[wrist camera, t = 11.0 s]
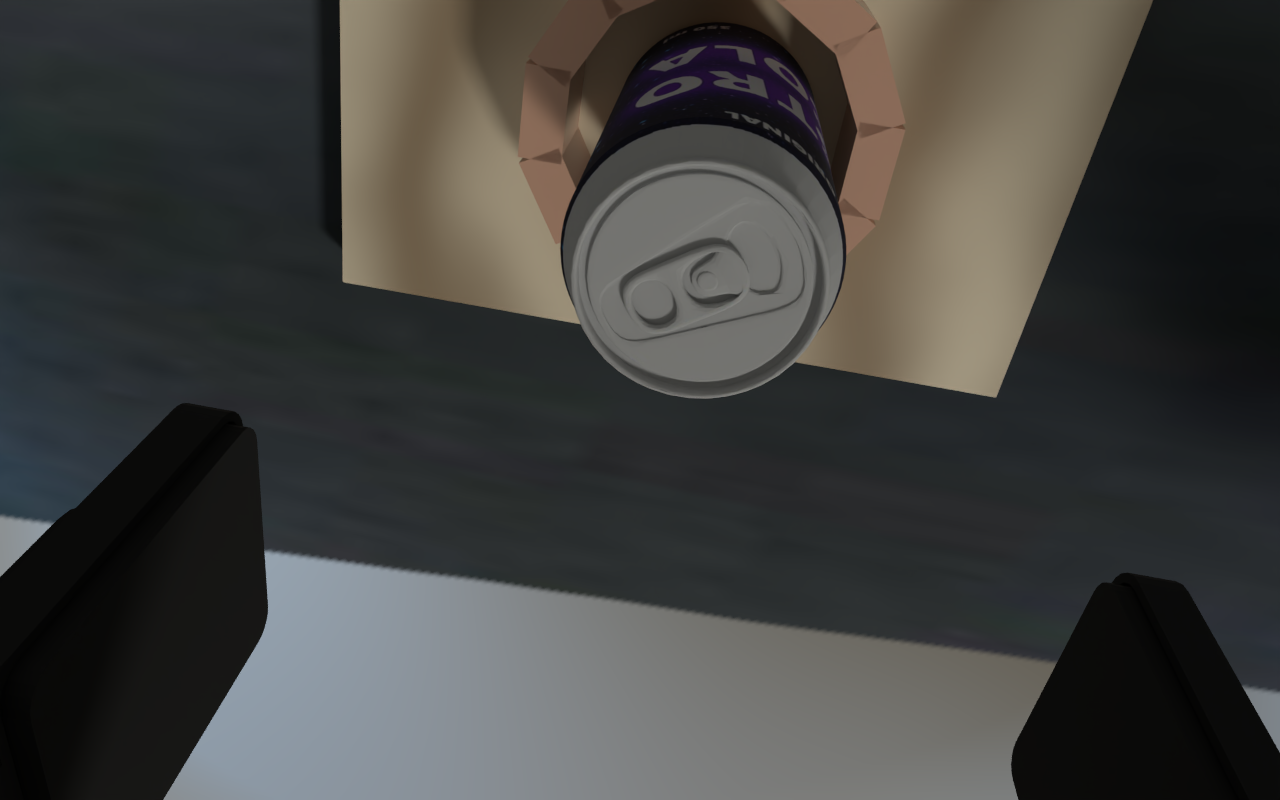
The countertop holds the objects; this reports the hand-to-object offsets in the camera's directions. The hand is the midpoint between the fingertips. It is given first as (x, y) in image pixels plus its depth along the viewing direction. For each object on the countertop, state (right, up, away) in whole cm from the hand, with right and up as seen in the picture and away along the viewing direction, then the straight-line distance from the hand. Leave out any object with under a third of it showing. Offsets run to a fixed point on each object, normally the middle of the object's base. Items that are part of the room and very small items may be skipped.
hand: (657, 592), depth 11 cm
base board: (+2, +11, +19) cm, 22 cm away
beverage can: (+2, +10, +18) cm, 21 cm away
